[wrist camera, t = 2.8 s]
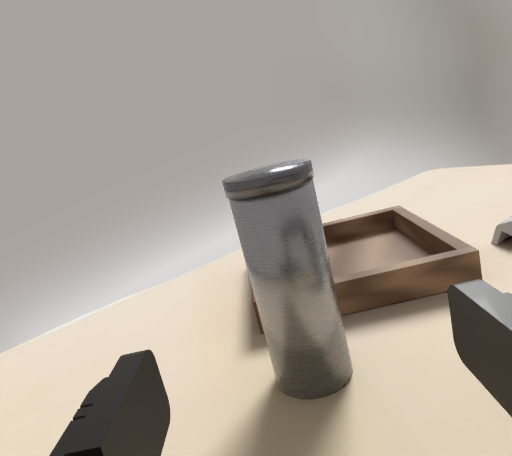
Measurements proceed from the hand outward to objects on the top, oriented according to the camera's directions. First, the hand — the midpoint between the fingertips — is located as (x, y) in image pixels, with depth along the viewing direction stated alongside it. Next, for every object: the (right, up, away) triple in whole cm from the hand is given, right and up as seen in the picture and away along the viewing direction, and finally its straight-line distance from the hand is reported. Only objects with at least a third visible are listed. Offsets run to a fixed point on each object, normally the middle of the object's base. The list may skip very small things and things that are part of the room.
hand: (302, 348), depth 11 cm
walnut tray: (+7, -1, +26) cm, 27 cm away
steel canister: (+2, -5, +13) cm, 14 cm away
